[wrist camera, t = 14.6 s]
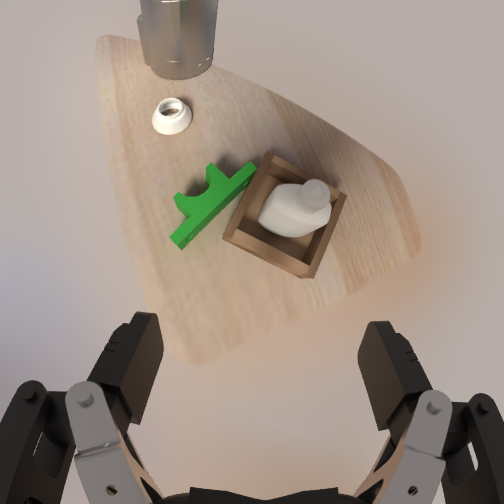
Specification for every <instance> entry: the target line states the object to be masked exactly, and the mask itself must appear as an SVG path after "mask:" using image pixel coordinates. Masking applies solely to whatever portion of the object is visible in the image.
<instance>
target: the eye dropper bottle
mask: <svg viewBox="0 0 504 504" xmlns="http://www.w3.org/2000/svg"><path fill="white" fill-rule="evenodd" d="M329 200H330V191H329V188H328V186H327V185H326V184H325V183H324V182H322V181H320V180H317V179H312V180H309V181H307V182H306V183H305V184H304V185H299V184H282V185H279V186H277V187H276V188H275V189H274V190H273V191H272V193H271V194H270V195H269V197H268V198H267V200H266V201H265V202H264V204H263V205H262V206H261V209H260V212H259V215H258V222H259V224H260V225H261V226H263V227H264V228H265V229H267V230H268V231H270V232H272V233H274V234H276V235H279V236H283V237H290V238H296V237H302V236H304V235H306V234H308V233H310V232H312V231H314V230H316V229H318V228H320V227H322V226H324V225H326V224H327V223H328V221H329V219H330V215H331V209H332V207H331V204H330V202H329Z"/></svg>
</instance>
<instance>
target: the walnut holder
mask: <svg viewBox="0 0 504 504" xmlns="http://www.w3.org/2000/svg"><path fill="white" fill-rule="evenodd" d="M312 179H317V180H320V179H318V178H316V177H315V176H313V175H311V174H309V173H308V172H306V171H304V170H302V169H300V168H299V167H297V166H295V165H293V164H291V163H289V162H287V161H285V160H284V159H282V158H280V157H278V156H276V155H274V154H272V153H270V152H268V151H267V153H266V154H265V156H264V158H263V160H262V162H261V164H260V165H259V167H258V169H257V171H256V173H255V175H254V177H253V178H252V180H251V182H250V184H249V186H248V188H247V190H246V192H245V193H244V195H243V197H242V199H241V201H240V203H239V205H238V207H237V209H236V211H235V213H234V214H233V216H232V218H231V220H230V222H229V224H228V226H227V228H226V230H225V232H224V235H223V237H222V239H223V240H225V241H227V242H229V243H231V244H233V245H235V246H237V247H239V248H241V249H243V250H245V251H247V252H249V253H251V254H253V255H255V256H257V257H259V258H261V259H263V260H265V261H267V262H269V263H271V264H273V265H275V266H277V267H279V268H281V269H283V270H285V271H287V272H289V273H291V274H293V275H295V276H297V277H299V278H301V279H303V278H314V276H315V274H316V272H317V269H318V267H319V265H320V262H321V260H322V258H323V255H324V253H325V250H326V248H327V245H328V243H329V241H330V238H331V236H332V233H333V231H334V228H335V225H336V223H337V220H338V218H339V215H340V213H341V210H342V207H343V205H344V202H345V199H346V197H347V195H345V194H344V193H342V192H340V191H339V190H337V189H335V188H334V187H332V186H330V185H329V184H327V183H325V182H324V183H325V184H326V185H327V186H328V188H329V191H330V200H329V202H330V204H331V207H332V209H331V215H330V219H329V221H328V223H327V224H326V225H324V226H322V227H320V228H318V229H316V230H314V231H312V232H310V233H308V234H306V235H304V236H302V237H296V238H290V237H283V236H279V235H276V234H274V233H272V232H270V231H268V230H267V229H265V228H264V227H263V226H261V225H260V224H259V222H258V215H259V212H260V209H261V206H262V205H263V204H264V202H265V201H266V200H267V198H268V197H269V195H270V194H271V193H272V191H273V190H274V189H275V188H276V187H277V186H279V185H282V184H299V185H304V184H305V183H306V182H307V181H309V180H312ZM320 181H322V180H320ZM322 182H323V181H322Z"/></svg>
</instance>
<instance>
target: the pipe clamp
mask: <svg viewBox="0 0 504 504" xmlns="http://www.w3.org/2000/svg"><path fill="white" fill-rule="evenodd" d="M256 171H257V167H256V166H255V165H254V164H253V163H252V162H250V161H249V162H248V163H247V164H246V165H245V166H244V167H242V168H241V169H240V170H239V171H238V172H237V173H236V174H235V175H233V176H232V177H231V178H230V179H229V178H228V177H226V176H225V175H224V174H223V173H222V172H221V171H220V170H219V169H218V168H217V167H216V166H215V165H214V164H212V163H210V164H209V165H208V166H207V167H206V182H207V184H208V185H209V188H208V189H207V190H206V191H205V192H204V193H203V194H201V195H199V196H195V197H188V196H185V195H182V194H181V193H180V192H178V193H177V194H176V195H175V196H174V197H173V198H174V200H175V203H176V205H177V208H178V209H179V210H180V211H181V212H182V213H183V214H184V215H185V216H186V217H187V218H188V219H187V220H186V221H185V222H184V223H183V224H182V225H181V226H180V227H179V228H178V229H177V230H176V231H175V232H174V233H173V234H172V235H171V236H170V238H171V239H172V241H173V242H174V243H175V244H176V245H177V246H178V247H179V248H180V249H181V250H182V249H183V248H184V247H185V246H186V245H187V244H188V243H189V242H190V241H191V240H192V239H193V238H194V237H195V236H196V235H197V234H198V233H199V232H200V231H201V230H202V229H203V228H204V227H205V226H206V225H207V224H208V223H209V222H210V221H211V220H212V219H213V218H214V217H215V216H216V215H217V214H218V213H220V212H221V211H222V210H223V209H224V208H225V207H226V206H227V205H228V204H229V203H230V202H231V201H232V200H233V199H234V198H235V197H236V196H237V195H238V194H239V193H240V192H241V191H243V190H244V189H245V188H246V187H247V186H248V185H249V184H250V182H251V180H252V178H253V177H254V175H255V173H256Z"/></svg>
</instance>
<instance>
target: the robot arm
mask: <svg viewBox="0 0 504 504" xmlns="http://www.w3.org/2000/svg"><path fill="white" fill-rule="evenodd" d="M140 4H141V11H142V14H141V15H140V16H139V17H138V18H137V24H138V29H139V34H140V39H141V44H142V49H143V54H144V59H145V63H146V64H147V65H150V66H151V68H152V70H153V71H154V72H155V73H156V74H157V75H159V76H160V77H163V78H166V79H172V80H180V79H187V78H191V77H194V76H196V75H199V74H201V73H202V72H204V71H205V70H206V69H207V68H208V67H209V66H210V65H211V63H212V60H213V52H214V39H215V28H216V18H217V8H218V0H140ZM163 351H164V345H163V339H162V335H161V330H160V326H159V321H158V317H157V315H156V314H155V313H145V312H136V313H135V314H134V316H133V318H132V320H131V322H130V323H129V324H127V323H123V324H122V325H121V326H120V327H118V328H117V329H116V330H115V331H114V332H113V334H112V336H111V337H110V339H109V343H107V344H106V346H105V348H104V351H102V353H101V355H100V357H99V359H98V360H97V363H96V364H95V366H94V368H93V370H92V371H91V374H90V375H89V377H88V379H87V381H83V382H79V383H76V384H75V385H73V386H72V387H71V388H70V389H69V390H68V391H67V392H57V391H47V390H46V388H45V387H44V386H43V384H42V383H40V382H38V381H34V380H31V381H27V382H25V383H23V384H22V385H21V386H20V387H19V388H18V389H17V391H16V393H15V395H14V397H13V399H12V401H11V402H10V404H9V406H8V408H7V410H6V412H5V414H4V416H3V419H2V420H1V422H0V504H60V502H61V497H62V493H63V490H64V485H65V482H66V479H67V475H68V472H69V468H70V465H71V461H72V458H73V455H74V452H75V449H76V446H77V450H78V454H76V455H75V456H74V461H75V465H76V468H77V471H78V474H79V477H80V480H81V482H82V485H83V488H84V491H85V493H86V496H87V498H88V500H89V503H90V504H432V502H433V499H434V497H435V494H436V492H437V489H438V486H439V484H440V481H441V483H442V487H443V492H444V497H445V502H446V504H504V422H503V419H502V417H501V415H500V413H499V410H498V408H497V406H496V404H495V402H494V400H493V399H492V398H491V397H490V396H488V395H486V394H483V393H479V394H475V395H474V396H473V397H472V398H471V399H470V401H469V402H468V403H465V402H464V403H463V402H451V401H450V399H449V398H448V397H447V396H446V395H445V394H444V393H442V392H440V391H437V390H433V388H432V386H431V384H430V382H429V380H428V378H427V376H426V374H425V373H424V370H423V368H422V366H421V364H420V362H419V361H418V358H417V356H416V355H415V353H414V351H413V349H412V347H411V345H410V343H409V341H408V340H407V339H406V338H404V337H403V336H402V335H401V334H400V333H395V331H394V329H393V327H392V325H391V324H390V322H389V321H372V322H370V323H369V324H368V326H367V328H366V331H365V334H364V337H363V340H362V342H361V345H360V348H359V351H358V365H359V368H360V371H361V374H362V377H363V380H364V383H365V387H366V390H367V393H368V396H369V400H370V403H371V406H372V409H373V413H374V416H375V420H376V423H377V427H378V431H381V430H386V429H389V431H390V435H389V436H388V438H387V440H386V442H385V445H384V447H383V449H382V450H381V452H380V454H379V456H378V459H377V460H376V462H375V464H374V466H373V468H372V470H371V471H370V473H369V475H368V476H367V478H366V479H365V480H364V482H363V483H362V484H361V485H360V486H359V488H358V489H357V490H356V492H355V493H354V495H353V496H350V495H345V494H338V487H336V488H328V489H320V490H310V491H302V492H298V493H295V494H291V495H287V496H283V497H279V498H275V499H271V500H260V499H255V498H251V497H247V496H243V495H239V494H235V493H232V492H228V491H220V490H210V489H202V488H195V487H190V492H189V493H182V494H176V495H172V496H168V497H166V498H164V496H163V495H162V493H161V492H160V490H159V488H158V487H157V485H156V484H155V482H154V481H153V479H152V478H151V476H150V475H149V473H148V472H147V470H146V468H145V466H144V465H143V462H142V460H141V458H140V456H139V454H138V452H137V450H136V449H135V446H134V444H133V442H132V440H131V438H130V435H129V433H128V431H127V430H128V427H129V424H130V423H134V424H138V425H140V423H141V419H142V416H143V413H144V410H145V407H146V404H147V401H148V398H149V395H150V392H151V389H152V386H153V383H154V380H155V377H156V374H157V372H158V369H159V366H160V363H161V360H162V357H163ZM41 433H42V435H41ZM40 435H41V438H40ZM39 438H40V440H39ZM38 440H39V443H38ZM470 442H472V445H473V448H474V451H475V454H476V457H477V460H478V468H477V470H476V471H475V468H474V465H473V462H472V458H471V455H470V452H469V448H468V446H467V445H468V444H469V443H470ZM37 443H38V445H37ZM36 445H37V448H36ZM35 448H36V451H35ZM34 451H35V453H34ZM33 454H34V456H33Z"/></svg>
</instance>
